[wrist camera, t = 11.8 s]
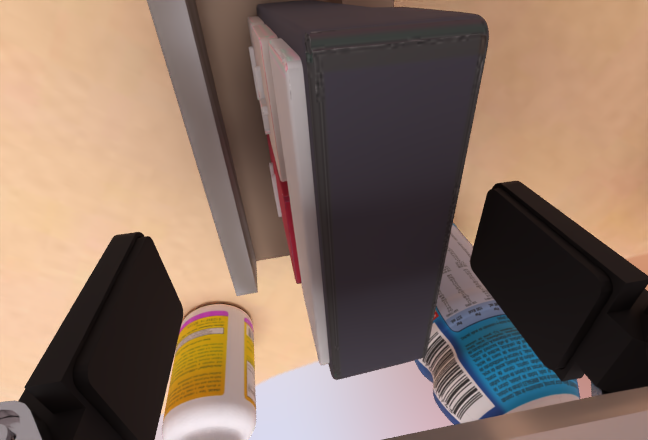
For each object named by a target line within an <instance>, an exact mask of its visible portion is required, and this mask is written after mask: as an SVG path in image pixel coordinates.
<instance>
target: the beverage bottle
mask: <svg viewBox="0 0 648 440" xmlns="http://www.w3.org/2000/svg"><path fill="white" fill-rule="evenodd" d="M472 250H473V246H472V245H471V244H470V242H469V241H468V240H467V239H466V238H465V237H464V235H463V234H462V233H461V232H460V231H459V229H458V228H457V226H456V225H455V224H454V223H453V224H452V229H451V234H450V239H449V244H448V249H447V254H446V259H445V264H444V269H443V274H442V279H441V284H440V289H439V294H438V299H437V304H436V309H435V314H434V319H433V324H432V329H431V335H430V340H429V345H428V349H427V354H426V356H425V357H424V358H421V359H417V360H415V362H416V364H417V366H418V368H419V370H420V371H421V373H422V374H423V375H424V376H425V377H426V378H427V379H428V380H430V381H431V382H432V383H433V395H434V399H435V401H436V403H437V405H438V406H439V408H440V409H441V411H442V412H443V413H444V414H445V416H446V417H447V418H448V419H449V420H450V421H451V422H452V423H453V424H454V425H456V424H461V423H465V422H470V421H475V420H480V419H485V418H490V417H495V416H500V415H505V414H509V413H514V412H519V411H524V410H529V409H534V408H539V407H544V406H549V405H554V404H559V403H564V402H569V401H574V400H579V399H580V394H579V388H578V383H577V379H573V380H568V381H563V382H561V380H560V379H559V378H558V376H557V375H556V374H555V372H554V371H553V370H550V369H548V368H547V367H545V365H544V364H543V363H542V362H541V361H540V359H539V358H538V357H537V355H536V354H535V353H534V351H533V350H532V349H531V347H530V346H529V345H528V343H527V342H526V341H525V339H524V338H523V337H522V336H521V334H520V333H519V332H518V330H517V329H516V328H515V326H514V325H513V324H512V322H511V321H510V320H509V318H508V317H507V316H506V314H505V313H504V312H503V310H502V309H501V308H500V307H499V305H498V304H497V303H496V301H495V300H494V299H493V297H492V296H491V295H490V293H489V292H488V291H487V289H486V288H485V287H484V285H483V284H482V283H481V281H480V280H479V279H478V278H477V276H476V275H475V274H474V272H473V271H472V269H471V265H470V258H471V254H472Z"/></svg>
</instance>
